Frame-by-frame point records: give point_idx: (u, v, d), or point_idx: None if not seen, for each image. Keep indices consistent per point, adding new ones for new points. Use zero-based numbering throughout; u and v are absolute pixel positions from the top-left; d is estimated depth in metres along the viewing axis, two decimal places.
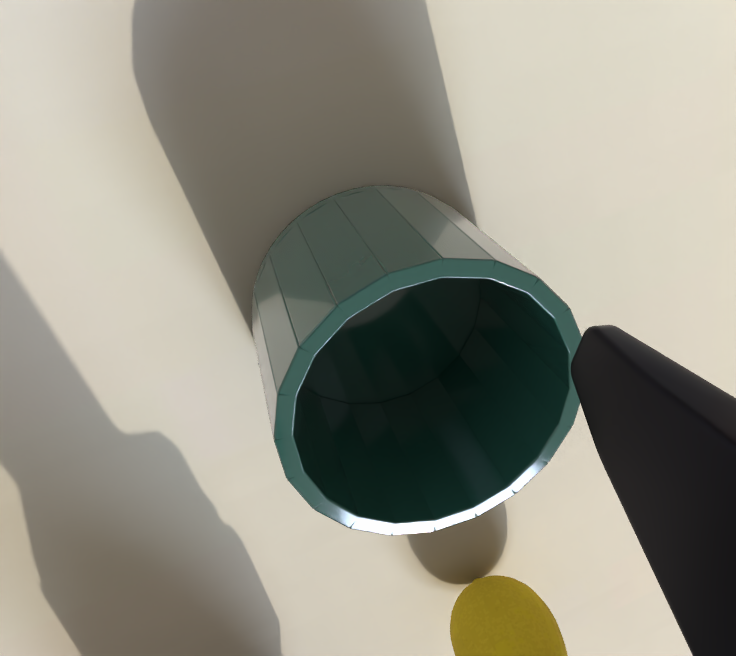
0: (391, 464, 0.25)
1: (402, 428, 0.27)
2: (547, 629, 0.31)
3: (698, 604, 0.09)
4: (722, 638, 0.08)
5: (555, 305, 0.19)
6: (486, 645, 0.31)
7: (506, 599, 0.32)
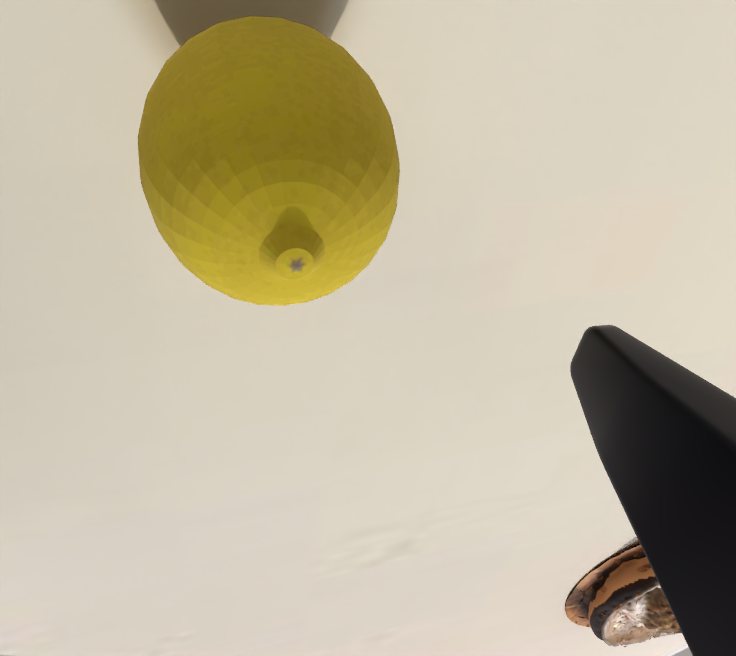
0: None
1: None
2: (377, 110, 0.13)
3: (698, 604, 0.09)
4: (722, 638, 0.08)
5: None
6: (211, 72, 0.12)
7: (303, 29, 0.13)
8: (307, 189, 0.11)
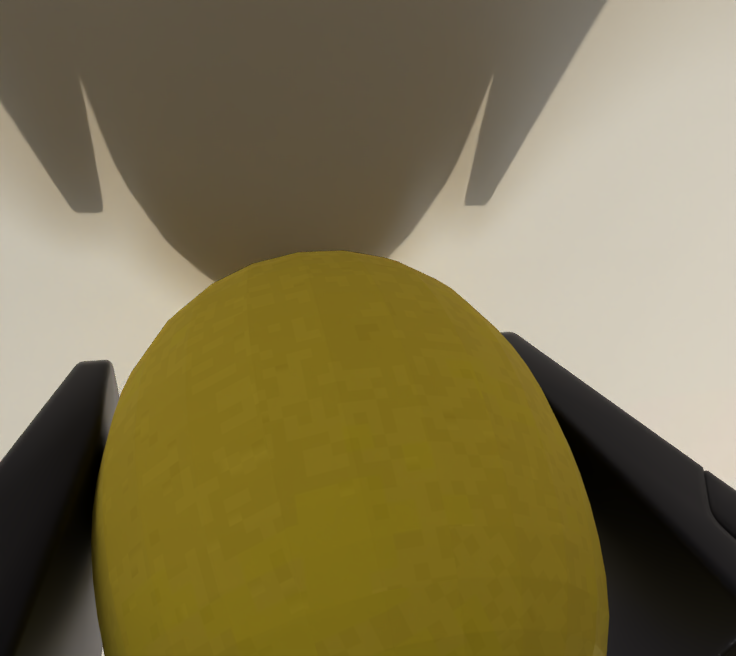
0: None
1: None
2: (578, 496, 0.06)
3: None
4: None
5: None
6: (244, 485, 0.05)
7: (419, 313, 0.06)
8: None
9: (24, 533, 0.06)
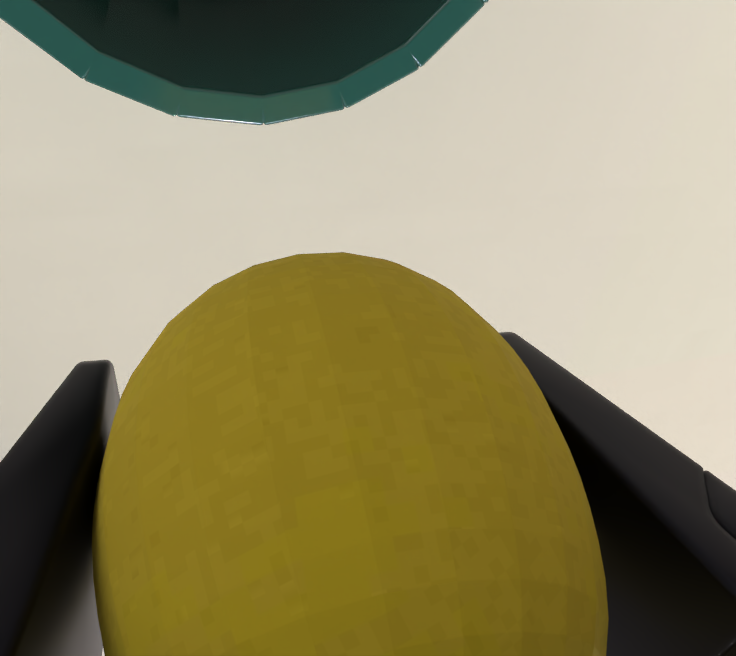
0: (146, 15, 0.13)
1: (196, 5, 0.15)
2: (577, 499, 0.06)
3: None
4: None
5: None
6: (244, 487, 0.05)
7: (420, 315, 0.07)
8: None
9: (25, 533, 0.06)
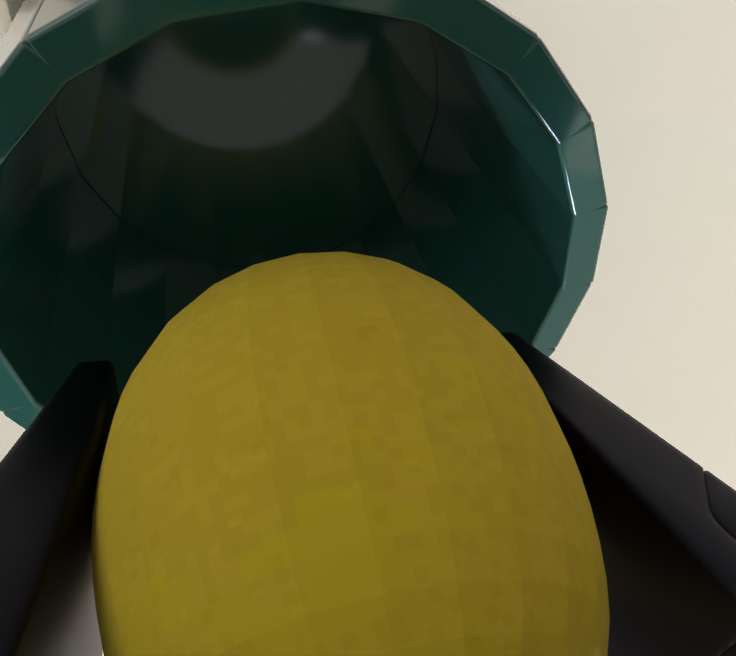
0: None
1: None
2: (579, 499, 0.06)
3: None
4: None
5: (589, 191, 0.10)
6: (244, 486, 0.05)
7: (420, 314, 0.06)
8: None
9: (24, 533, 0.06)
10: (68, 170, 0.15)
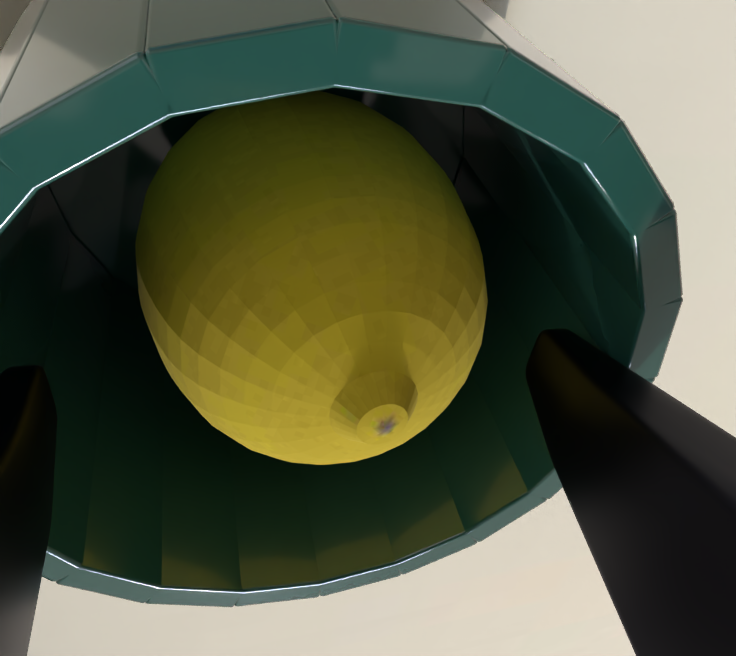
0: (198, 446, 0.13)
1: None
2: (457, 200, 0.10)
3: (645, 614, 0.08)
4: (668, 650, 0.08)
5: (663, 284, 0.08)
6: (243, 167, 0.08)
7: (349, 102, 0.10)
8: (394, 320, 0.08)
9: None
10: (55, 229, 0.13)
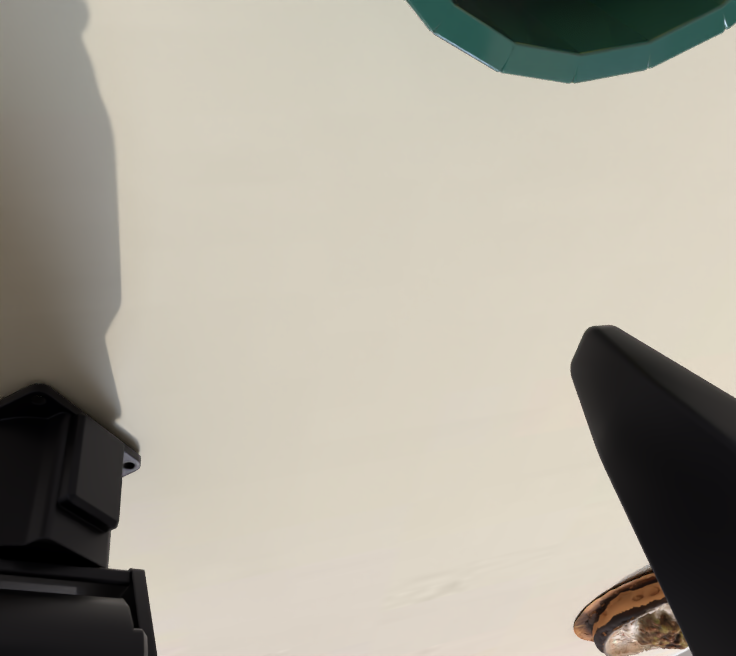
0: None
1: None
2: None
3: (698, 604, 0.09)
4: (722, 638, 0.08)
5: None
6: None
7: None
8: None
9: None
10: None
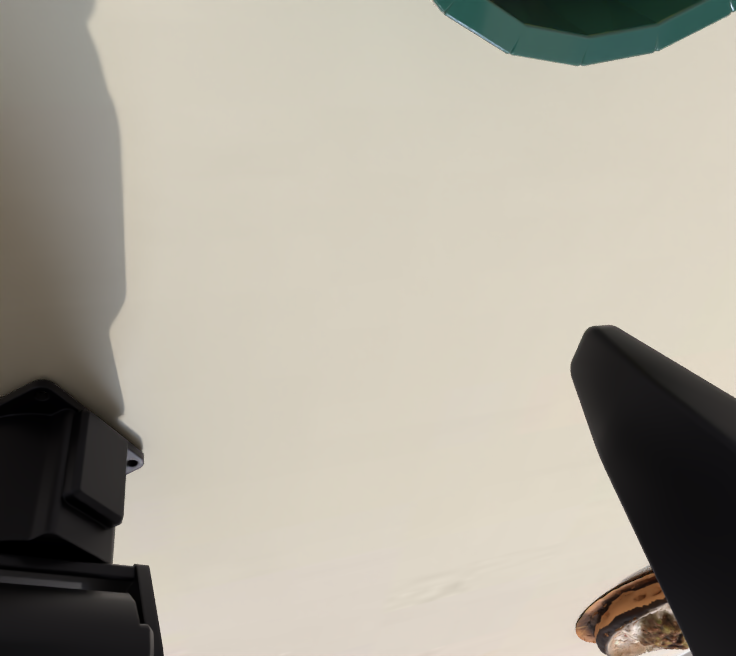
0: None
1: None
2: None
3: (698, 604, 0.09)
4: (722, 638, 0.08)
5: None
6: None
7: None
8: None
9: None
10: None
